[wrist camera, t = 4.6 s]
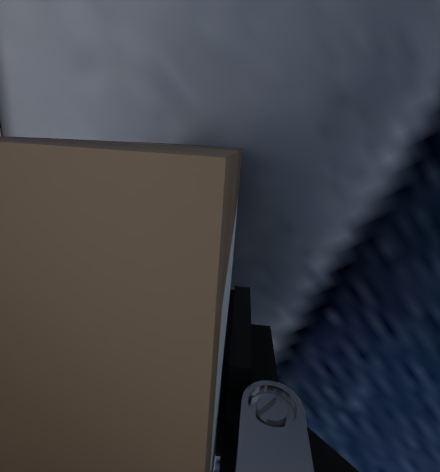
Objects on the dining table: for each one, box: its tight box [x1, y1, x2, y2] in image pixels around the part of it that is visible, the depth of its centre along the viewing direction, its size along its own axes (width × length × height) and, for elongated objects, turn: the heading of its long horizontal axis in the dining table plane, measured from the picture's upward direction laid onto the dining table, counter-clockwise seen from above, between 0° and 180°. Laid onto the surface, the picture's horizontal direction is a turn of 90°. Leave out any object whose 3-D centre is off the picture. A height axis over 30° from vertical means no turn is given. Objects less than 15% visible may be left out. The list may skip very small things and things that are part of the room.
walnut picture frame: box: [0, 136, 242, 472], centre depth 8 cm, size 2×12×9 cm, turn 176°
